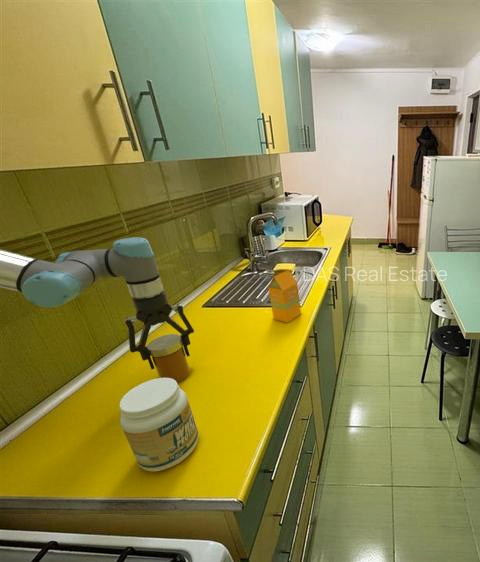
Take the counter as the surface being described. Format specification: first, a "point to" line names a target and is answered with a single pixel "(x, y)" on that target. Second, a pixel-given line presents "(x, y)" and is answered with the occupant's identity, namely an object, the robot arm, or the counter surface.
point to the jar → (172, 366)
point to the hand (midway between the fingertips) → (170, 360)
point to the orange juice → (284, 297)
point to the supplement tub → (158, 424)
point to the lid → (165, 345)
